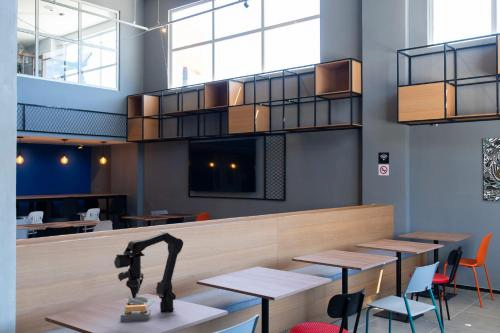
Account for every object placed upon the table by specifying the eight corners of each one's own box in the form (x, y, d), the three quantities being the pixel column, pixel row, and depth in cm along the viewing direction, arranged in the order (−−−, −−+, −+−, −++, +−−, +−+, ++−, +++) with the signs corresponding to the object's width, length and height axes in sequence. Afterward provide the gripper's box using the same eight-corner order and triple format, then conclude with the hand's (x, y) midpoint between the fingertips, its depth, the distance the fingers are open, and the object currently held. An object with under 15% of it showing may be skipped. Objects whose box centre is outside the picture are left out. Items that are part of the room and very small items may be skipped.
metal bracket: (124, 298, 264) (133, 292, 279) (121, 309, 264) (130, 301, 279) (148, 306, 263) (156, 299, 278) (146, 316, 263) (153, 308, 278)
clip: (146, 317, 248) (145, 304, 248) (145, 318, 245) (145, 306, 245) (126, 318, 247) (126, 305, 247) (125, 319, 244) (125, 306, 244)
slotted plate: (150, 315, 251) (150, 309, 251) (148, 320, 243) (148, 314, 243) (123, 316, 249) (123, 310, 249) (120, 321, 241) (120, 315, 241)
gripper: (122, 262, 255) (122, 292, 255) (115, 269, 236) (115, 301, 236) (143, 262, 256) (143, 291, 256) (138, 269, 237) (138, 300, 237)
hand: (135, 295), depth 246 cm, fingers open, 9 cm apart
